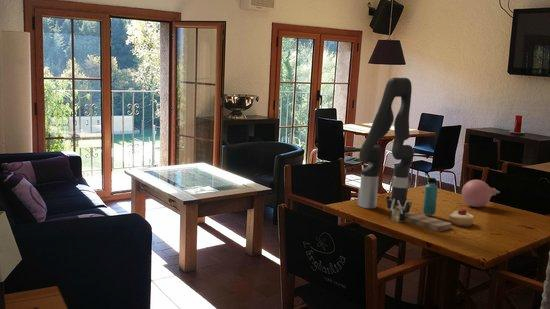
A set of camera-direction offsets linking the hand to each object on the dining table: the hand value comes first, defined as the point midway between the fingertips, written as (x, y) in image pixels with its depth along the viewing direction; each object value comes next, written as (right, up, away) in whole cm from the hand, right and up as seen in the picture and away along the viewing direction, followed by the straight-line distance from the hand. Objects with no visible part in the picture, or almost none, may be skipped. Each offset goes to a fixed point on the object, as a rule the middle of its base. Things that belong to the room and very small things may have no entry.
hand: (397, 219), depth 260 cm
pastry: (+31, -3, 0) cm, 31 cm away
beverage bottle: (+19, 0, +12) cm, 22 cm away
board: (+12, -2, -2) cm, 12 cm away
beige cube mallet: (+2, -1, +2) cm, 3 cm away
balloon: (+54, +2, +35) cm, 64 cm away
